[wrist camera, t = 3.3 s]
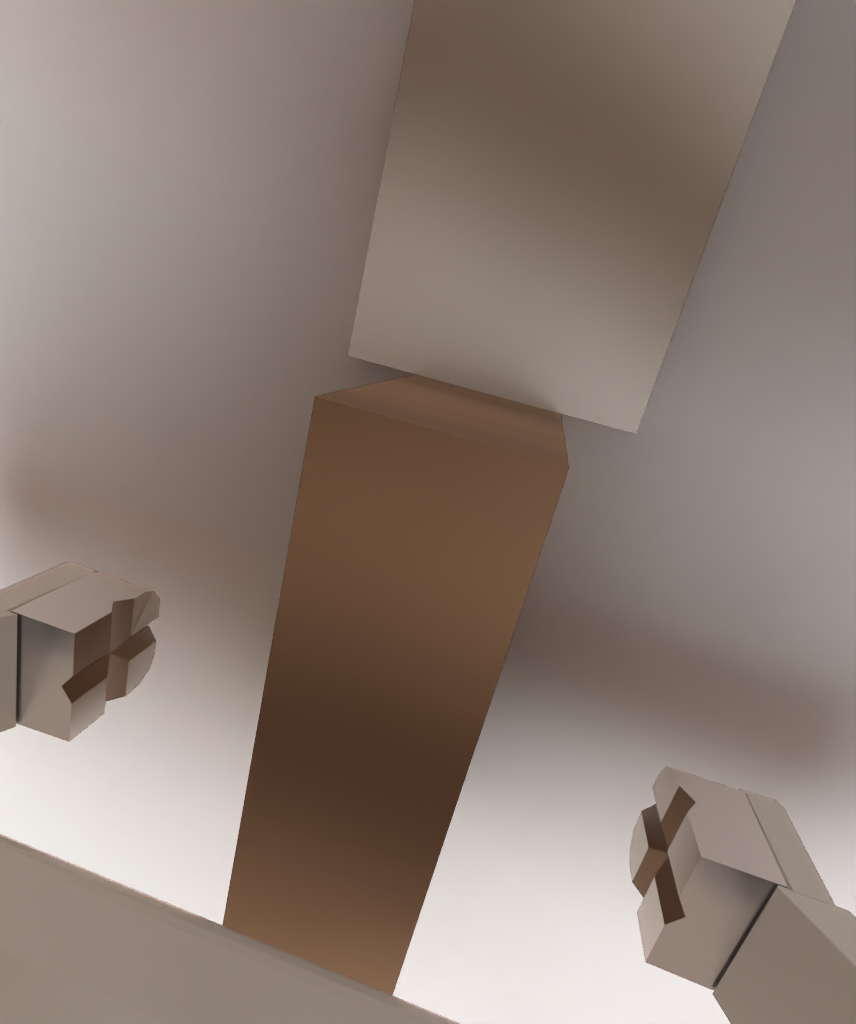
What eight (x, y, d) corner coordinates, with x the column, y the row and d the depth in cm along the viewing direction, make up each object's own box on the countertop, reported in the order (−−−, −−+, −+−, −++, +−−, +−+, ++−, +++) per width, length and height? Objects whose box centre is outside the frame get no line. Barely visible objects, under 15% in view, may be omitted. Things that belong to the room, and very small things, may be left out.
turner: (489, 818, 13) (453, 1100, 8) (283, 743, 13) (135, 962, 8) (817, -83, 7) (1276, -816, 3) (454, -139, 8) (322, -816, 3)
